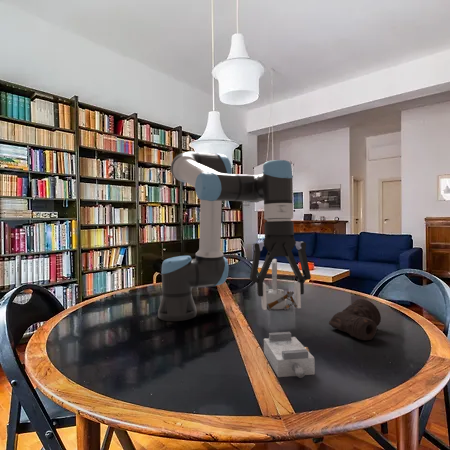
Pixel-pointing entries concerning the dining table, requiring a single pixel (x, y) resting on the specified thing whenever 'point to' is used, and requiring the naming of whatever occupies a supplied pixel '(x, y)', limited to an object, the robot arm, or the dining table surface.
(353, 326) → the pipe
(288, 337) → the machine vise
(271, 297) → the engine component
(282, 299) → the wooden post with brackets
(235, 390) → the dining table surface
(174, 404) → the dining table surface
